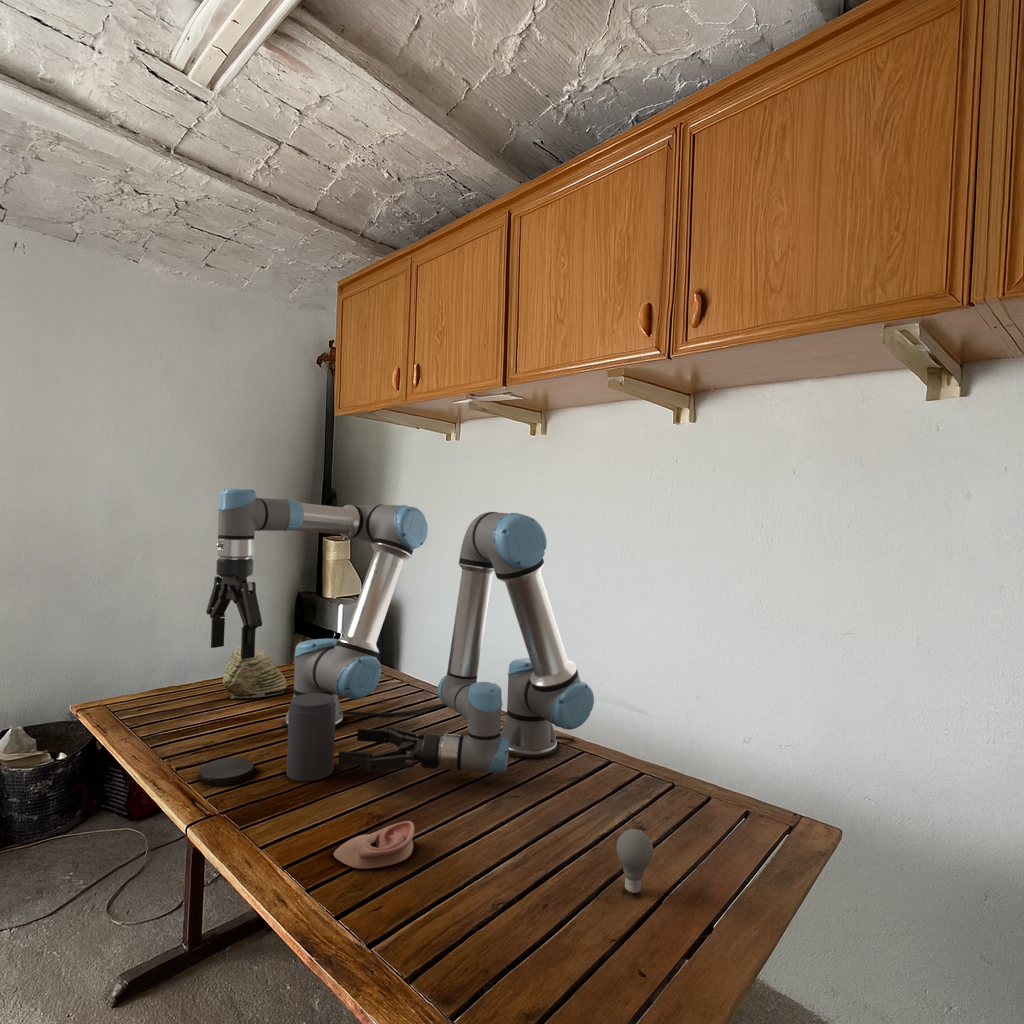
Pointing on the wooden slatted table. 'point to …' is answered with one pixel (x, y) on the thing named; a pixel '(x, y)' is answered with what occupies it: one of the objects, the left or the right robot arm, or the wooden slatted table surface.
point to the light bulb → (634, 857)
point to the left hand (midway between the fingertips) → (232, 652)
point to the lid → (226, 771)
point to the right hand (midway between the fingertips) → (348, 745)
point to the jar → (311, 737)
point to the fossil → (253, 676)
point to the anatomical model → (378, 847)
